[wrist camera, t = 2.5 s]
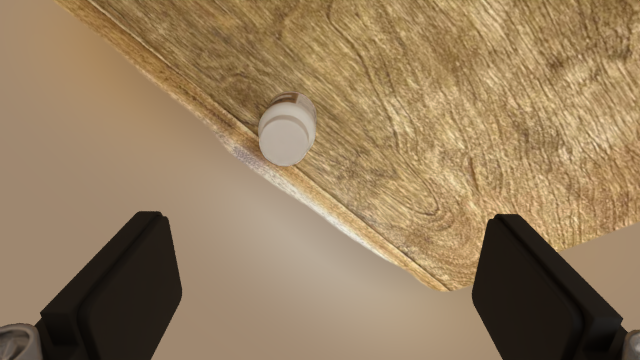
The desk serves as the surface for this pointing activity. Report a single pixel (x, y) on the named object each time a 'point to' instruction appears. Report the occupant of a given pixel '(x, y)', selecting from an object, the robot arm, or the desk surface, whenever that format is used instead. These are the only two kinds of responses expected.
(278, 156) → the pill bottle
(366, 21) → the desk surface
